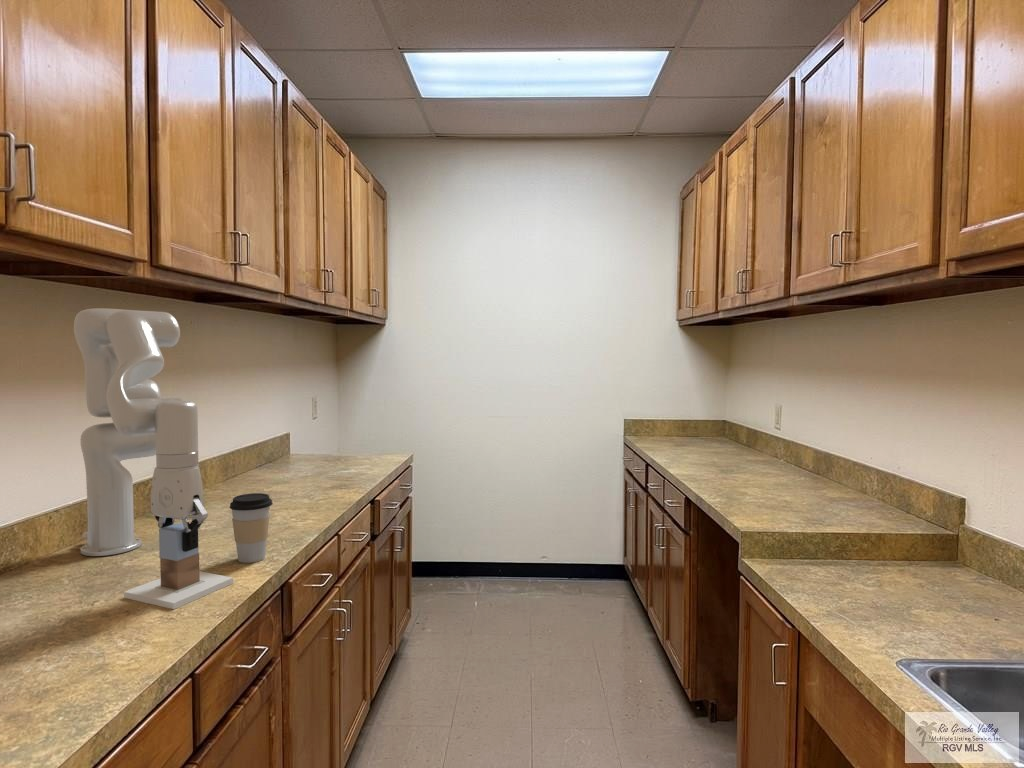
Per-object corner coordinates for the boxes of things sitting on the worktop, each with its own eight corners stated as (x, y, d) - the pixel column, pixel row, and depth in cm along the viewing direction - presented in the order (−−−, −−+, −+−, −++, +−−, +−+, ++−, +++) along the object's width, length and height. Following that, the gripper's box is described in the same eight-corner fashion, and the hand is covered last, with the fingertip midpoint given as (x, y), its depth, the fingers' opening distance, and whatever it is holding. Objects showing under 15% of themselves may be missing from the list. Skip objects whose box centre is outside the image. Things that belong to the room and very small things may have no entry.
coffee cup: (232, 554, 143) (231, 494, 142) (273, 550, 146) (273, 491, 146) (228, 567, 134) (227, 503, 133) (272, 563, 137) (271, 500, 137)
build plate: (124, 597, 117) (123, 591, 117) (186, 573, 130) (185, 567, 130) (173, 609, 112) (173, 602, 112) (233, 583, 125) (233, 577, 125)
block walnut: (160, 586, 120) (160, 557, 120) (182, 577, 124) (182, 550, 124) (178, 590, 118) (177, 560, 118) (199, 581, 123) (199, 553, 122)
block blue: (159, 557, 119) (158, 528, 119) (181, 550, 124) (180, 522, 124) (177, 561, 118) (176, 531, 117) (198, 553, 122) (198, 525, 122)
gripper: (131, 460, 120) (133, 547, 121) (192, 467, 113) (193, 559, 114) (164, 455, 127) (166, 537, 127) (224, 461, 120) (225, 547, 121)
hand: (179, 546), depth 121 cm, fingers open, 5 cm apart
